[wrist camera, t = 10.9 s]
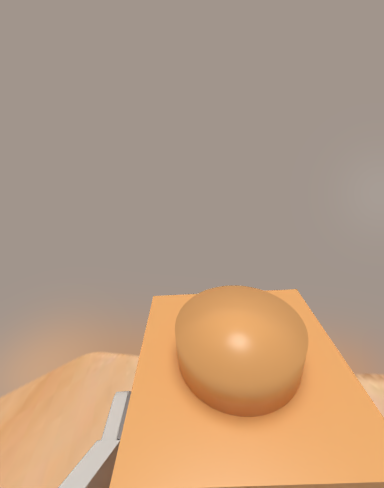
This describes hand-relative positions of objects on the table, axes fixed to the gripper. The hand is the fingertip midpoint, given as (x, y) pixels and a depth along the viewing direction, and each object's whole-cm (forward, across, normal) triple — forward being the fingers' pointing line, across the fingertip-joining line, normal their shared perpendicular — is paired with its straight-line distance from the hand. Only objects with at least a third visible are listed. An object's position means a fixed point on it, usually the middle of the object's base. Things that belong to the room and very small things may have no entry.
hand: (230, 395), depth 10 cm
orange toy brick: (-1, 0, +6) cm, 6 cm away
